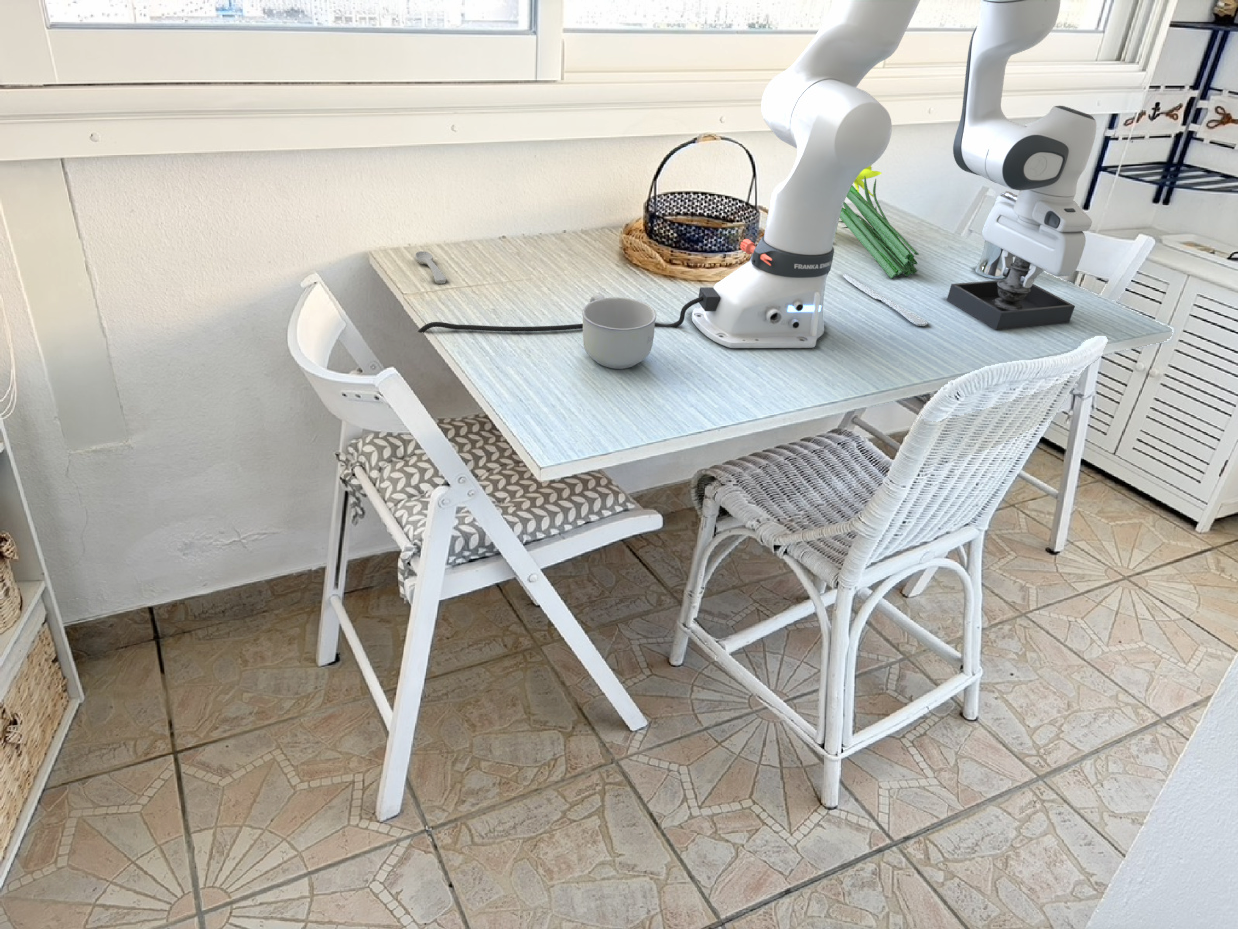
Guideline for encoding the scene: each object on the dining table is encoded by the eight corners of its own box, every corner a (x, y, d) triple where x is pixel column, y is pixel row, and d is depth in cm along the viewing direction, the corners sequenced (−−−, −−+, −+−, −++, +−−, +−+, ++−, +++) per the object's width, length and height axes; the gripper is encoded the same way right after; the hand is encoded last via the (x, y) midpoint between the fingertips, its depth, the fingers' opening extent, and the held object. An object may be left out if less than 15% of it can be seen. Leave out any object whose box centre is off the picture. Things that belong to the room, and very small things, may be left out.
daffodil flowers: (856, 284, 177) (777, 184, 198) (892, 312, 187) (813, 213, 208) (925, 219, 170) (835, 122, 191) (959, 251, 180) (870, 155, 201)
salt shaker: (1026, 313, 167) (1049, 249, 160) (993, 307, 167) (1015, 243, 161) (1021, 301, 172) (1043, 239, 165) (988, 296, 172) (1010, 233, 166)
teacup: (660, 374, 136) (666, 324, 131) (589, 378, 132) (593, 327, 128) (632, 334, 147) (637, 286, 142) (566, 337, 144) (569, 288, 139)
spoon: (428, 257, 166) (428, 246, 165) (449, 286, 158) (449, 275, 157) (412, 258, 165) (412, 248, 164) (433, 288, 157) (433, 277, 156)
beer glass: (1015, 277, 187) (1039, 203, 179) (994, 281, 183) (1018, 207, 175) (986, 265, 191) (1009, 193, 183) (965, 269, 188) (988, 196, 180)
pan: (995, 330, 162) (1001, 312, 160) (946, 300, 172) (951, 283, 170) (1069, 322, 168) (1075, 305, 167) (1017, 293, 178) (1022, 278, 177)
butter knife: (917, 324, 159) (930, 323, 160) (837, 273, 177) (850, 272, 178) (916, 327, 159) (930, 325, 161) (837, 275, 177) (849, 274, 179)
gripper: (987, 188, 166) (964, 261, 174) (1072, 225, 151) (1042, 304, 158) (1013, 187, 169) (989, 259, 176) (1100, 224, 153) (1070, 302, 160)
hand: (1015, 281), depth 167 cm, fingers closed on salt shaker, 3 cm apart
